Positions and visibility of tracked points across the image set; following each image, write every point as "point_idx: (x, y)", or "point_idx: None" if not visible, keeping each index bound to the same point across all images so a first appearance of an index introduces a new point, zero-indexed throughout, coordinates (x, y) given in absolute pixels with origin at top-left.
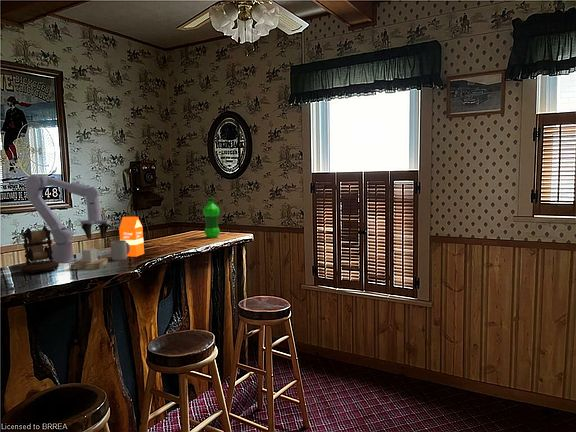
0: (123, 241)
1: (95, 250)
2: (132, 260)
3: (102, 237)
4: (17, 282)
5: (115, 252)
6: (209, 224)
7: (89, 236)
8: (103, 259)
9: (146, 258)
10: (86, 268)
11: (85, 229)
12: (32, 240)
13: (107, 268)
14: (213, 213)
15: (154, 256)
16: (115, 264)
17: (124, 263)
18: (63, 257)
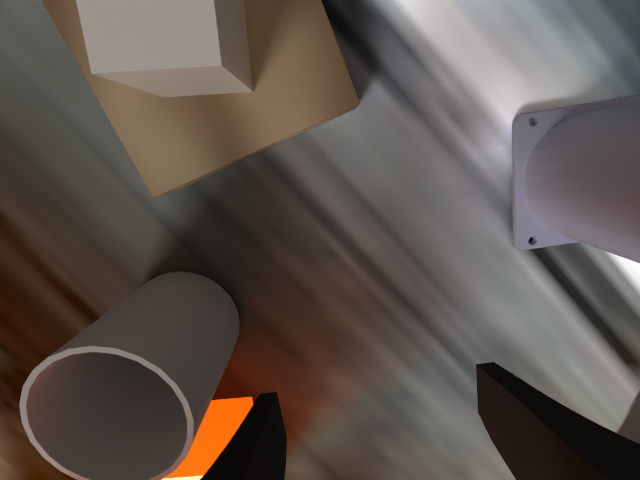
0: (116, 471)
1: (95, 44)
2: (56, 301)
3: (253, 404)
4: None
5: (137, 297)
6: None
7: (493, 407)
8: (138, 138)
9: (13, 371)
10: None
11: (620, 471)
12: None
13: (6, 15)
14: None
15: (13, 429)
16: (68, 160)
17: (29, 205)
18: (586, 118)
